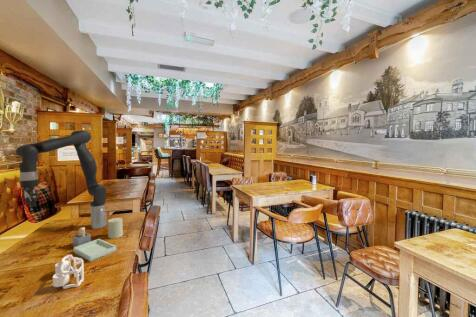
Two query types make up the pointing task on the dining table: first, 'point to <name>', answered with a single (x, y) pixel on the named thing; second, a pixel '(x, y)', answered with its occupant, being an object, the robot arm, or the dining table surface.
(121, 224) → the can
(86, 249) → the tray
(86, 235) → the deep cup
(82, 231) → the dowel pin
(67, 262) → the white wireframe roller cage
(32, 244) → the dining table surface
